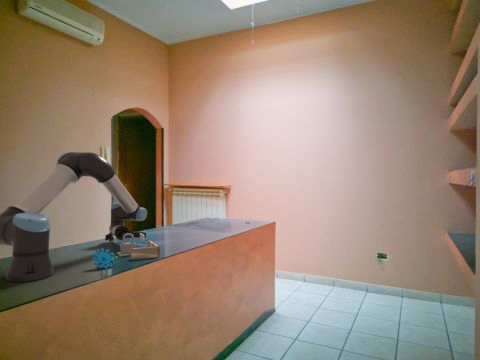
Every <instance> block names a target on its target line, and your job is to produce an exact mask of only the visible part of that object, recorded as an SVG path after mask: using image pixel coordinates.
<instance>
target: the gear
mask: <svg viewBox="0 0 480 360" xmlns="http://www.w3.org/2000/svg"><path fill="white" fill-rule="evenodd" d="M104 251H105V252H104ZM109 252H110V249H108V248H107V249H106V250H105V248H103V247H102V248H100V249H99V248H98V249H96V250H95V251H94V252H93V253H92V256H93V257H92V258H91V260H92V262H93V261H94V263H93V264H94V266H97V265H98V268H99V269H102V268H103V269H104V270H108V268H110V269H112V268H113V267H114V265H115V264H116V262H117V261H116V260H117V259H118V258H119V255H115V254H114V252H113V251H112V252H110V253H109ZM114 255H115V256H114ZM104 265H105V266H104ZM108 265H109V266H108Z"/></svg>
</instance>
